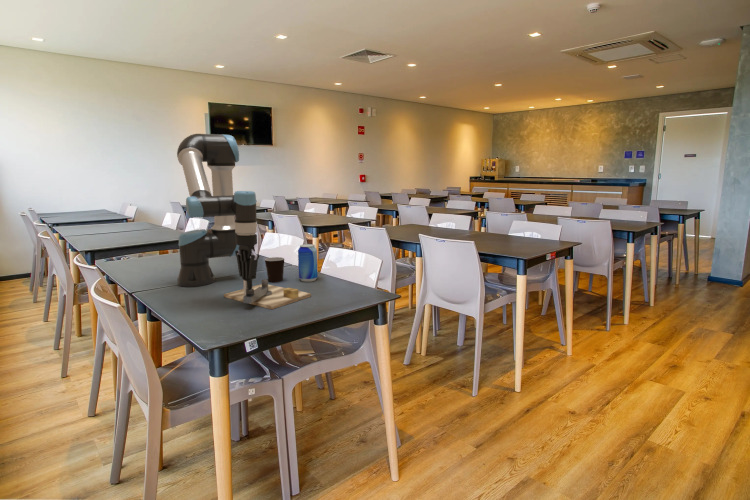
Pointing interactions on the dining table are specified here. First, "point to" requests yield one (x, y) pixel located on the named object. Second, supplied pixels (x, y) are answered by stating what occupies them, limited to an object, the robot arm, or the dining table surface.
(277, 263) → the coffee mug
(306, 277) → the beer can
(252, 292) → the swing bar
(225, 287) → the dining table surface
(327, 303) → the dining table surface
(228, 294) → the door board
